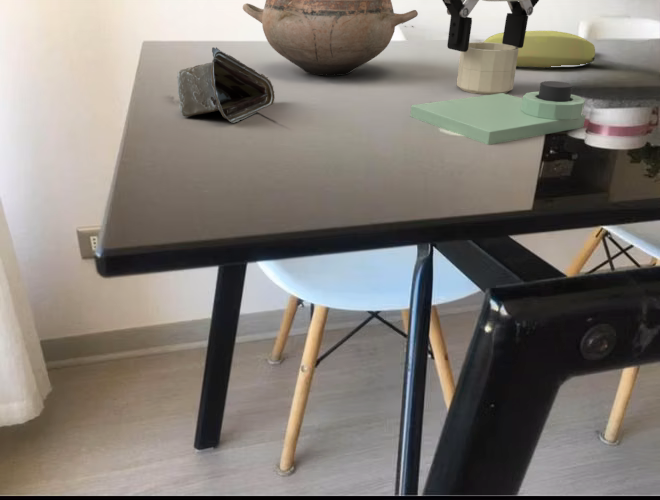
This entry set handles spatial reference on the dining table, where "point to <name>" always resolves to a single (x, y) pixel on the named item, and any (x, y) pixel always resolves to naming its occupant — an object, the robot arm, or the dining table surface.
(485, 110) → the scale
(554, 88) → the button
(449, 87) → the dining table surface
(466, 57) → the beige faceted cup
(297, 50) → the cooking pot
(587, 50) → the banana
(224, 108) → the hollow triangular tube
